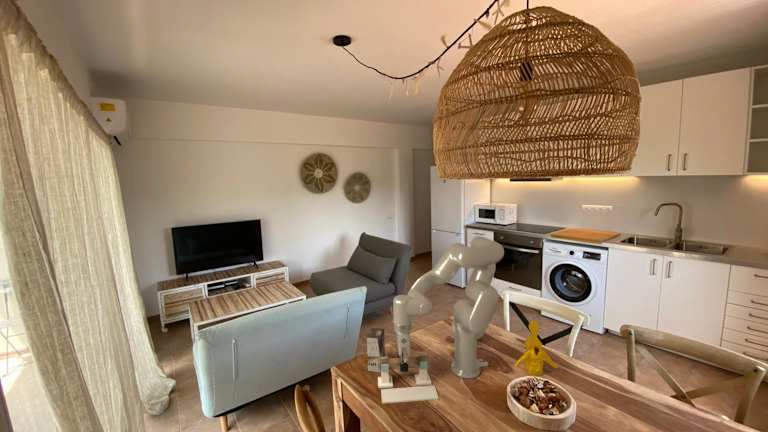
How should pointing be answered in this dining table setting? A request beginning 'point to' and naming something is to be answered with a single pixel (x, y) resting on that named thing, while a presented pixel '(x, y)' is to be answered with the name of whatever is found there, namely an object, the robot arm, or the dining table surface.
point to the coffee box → (375, 348)
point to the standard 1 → (385, 376)
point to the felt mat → (409, 394)
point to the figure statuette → (534, 352)
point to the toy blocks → (423, 374)
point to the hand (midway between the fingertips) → (402, 364)
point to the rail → (395, 362)
